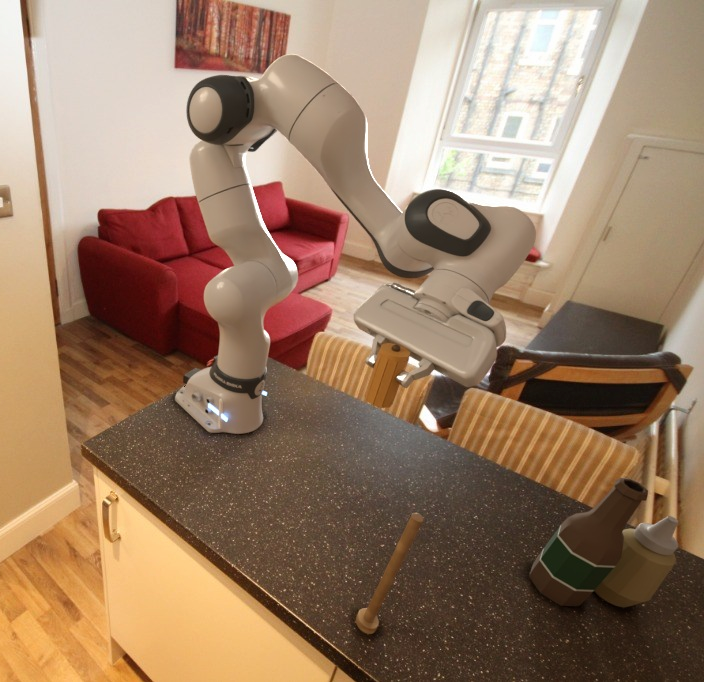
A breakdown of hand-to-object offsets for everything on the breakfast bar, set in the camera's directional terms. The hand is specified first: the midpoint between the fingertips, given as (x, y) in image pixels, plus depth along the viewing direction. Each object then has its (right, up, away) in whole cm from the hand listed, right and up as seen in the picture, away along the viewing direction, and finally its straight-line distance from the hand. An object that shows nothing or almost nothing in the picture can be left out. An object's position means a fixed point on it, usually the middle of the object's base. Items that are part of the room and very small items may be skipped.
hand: (384, 374), depth 66 cm
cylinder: (0, -4, +3) cm, 5 cm away
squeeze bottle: (+42, -37, +9) cm, 57 cm away
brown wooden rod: (-2, -38, +1) cm, 38 cm away
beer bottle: (+32, -37, +9) cm, 50 cm away
